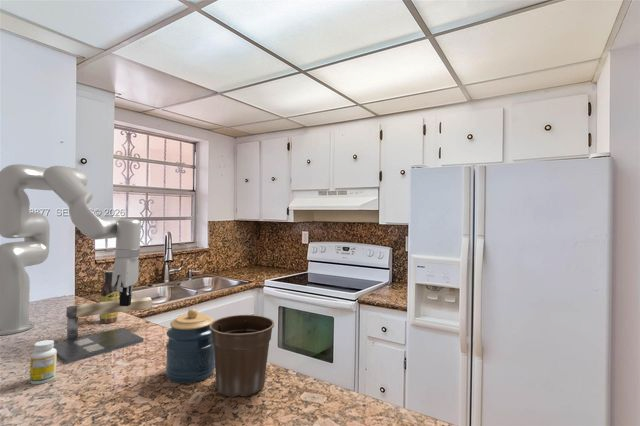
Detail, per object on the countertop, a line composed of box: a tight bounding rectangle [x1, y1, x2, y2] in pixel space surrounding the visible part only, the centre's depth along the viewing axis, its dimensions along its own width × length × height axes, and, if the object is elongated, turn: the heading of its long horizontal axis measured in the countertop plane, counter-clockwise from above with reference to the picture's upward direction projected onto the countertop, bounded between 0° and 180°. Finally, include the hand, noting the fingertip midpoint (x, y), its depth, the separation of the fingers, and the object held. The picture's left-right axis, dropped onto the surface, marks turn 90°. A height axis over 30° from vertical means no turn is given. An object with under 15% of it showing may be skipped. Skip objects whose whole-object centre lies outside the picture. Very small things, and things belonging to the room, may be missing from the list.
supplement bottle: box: [29, 339, 58, 385], centre depth 90 cm, size 5×5×10 cm
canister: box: [165, 308, 215, 384], centre depth 95 cm, size 13×13×18 cm
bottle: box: [98, 270, 120, 324], centre depth 136 cm, size 7×6×20 cm
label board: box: [53, 317, 145, 365], centre depth 114 cm, size 22×22×8 cm
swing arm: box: [65, 296, 153, 318], centre depth 123 cm, size 26×5×3 cm, turn 125°
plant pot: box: [210, 314, 275, 398], centre depth 89 cm, size 16×16×16 cm
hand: (125, 305), depth 122 cm, fingers closed
